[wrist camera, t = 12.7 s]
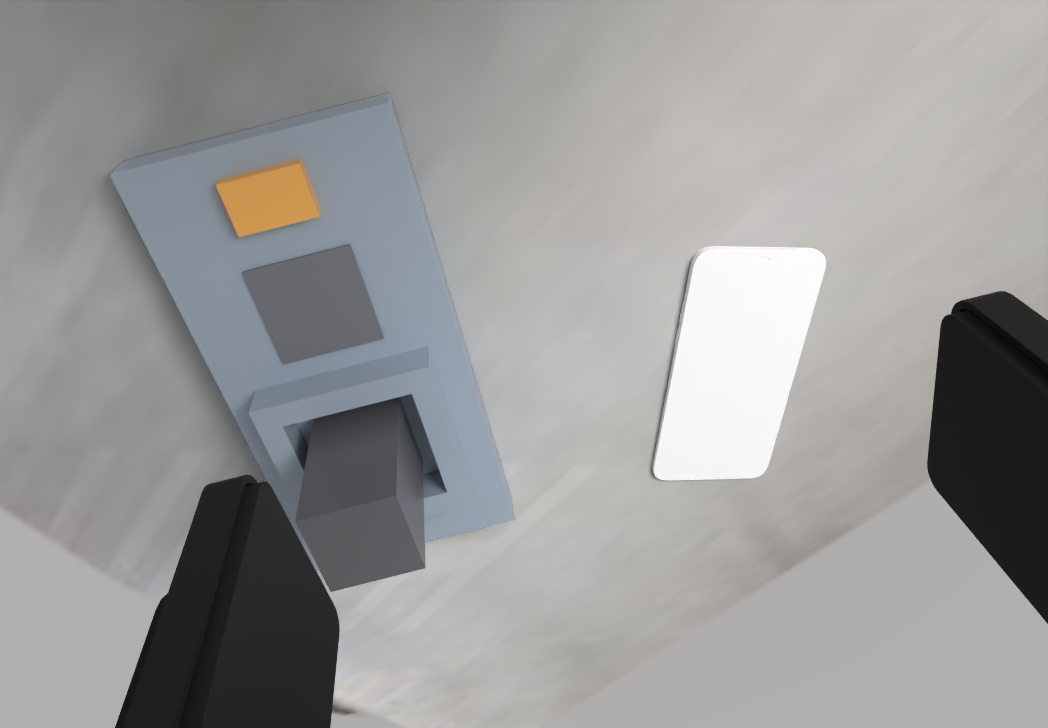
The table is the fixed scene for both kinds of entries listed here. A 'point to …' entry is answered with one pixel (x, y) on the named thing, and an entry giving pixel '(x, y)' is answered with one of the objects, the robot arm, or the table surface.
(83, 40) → the table surface
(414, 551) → the block
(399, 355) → the blue-grey fixture board
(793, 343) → the smartphone
